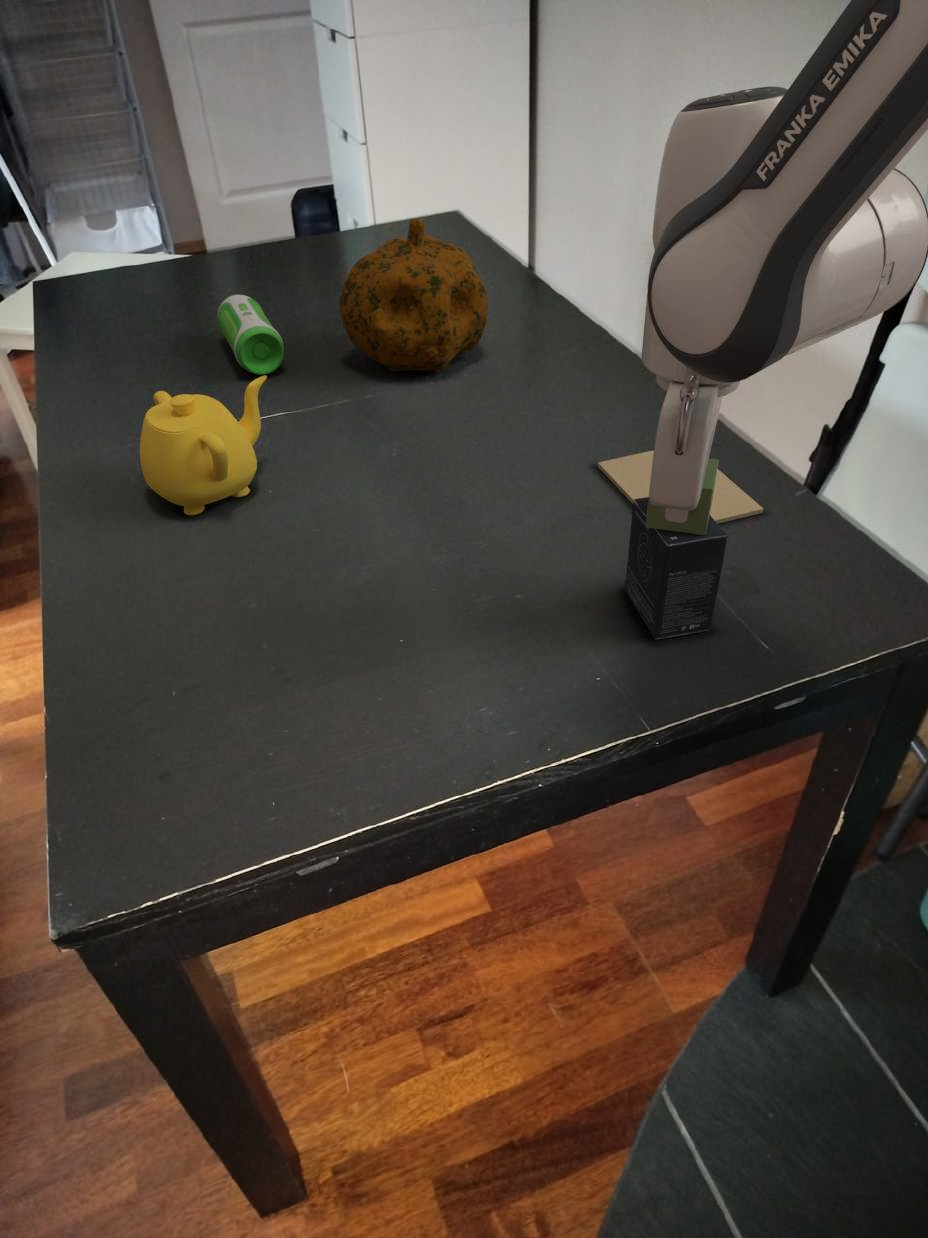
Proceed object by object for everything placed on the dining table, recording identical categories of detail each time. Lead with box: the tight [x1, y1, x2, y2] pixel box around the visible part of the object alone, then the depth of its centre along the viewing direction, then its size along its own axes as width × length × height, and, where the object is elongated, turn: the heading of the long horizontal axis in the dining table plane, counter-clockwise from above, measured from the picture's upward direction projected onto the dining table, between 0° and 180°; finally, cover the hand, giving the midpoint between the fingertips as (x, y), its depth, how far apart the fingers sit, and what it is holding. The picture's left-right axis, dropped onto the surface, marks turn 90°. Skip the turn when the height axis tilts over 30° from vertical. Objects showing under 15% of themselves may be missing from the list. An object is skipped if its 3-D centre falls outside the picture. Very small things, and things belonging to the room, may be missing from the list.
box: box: [624, 497, 729, 640], centre depth 78 cm, size 8×6×11 cm
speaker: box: [216, 294, 285, 376], centre depth 130 cm, size 18×7×8 cm, turn 23°
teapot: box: [139, 375, 268, 516], centre depth 98 cm, size 14×14×12 cm
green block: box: [646, 457, 720, 535], centre depth 73 cm, size 5×5×4 cm
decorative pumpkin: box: [338, 218, 489, 372], centre depth 123 cm, size 20×21×20 cm
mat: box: [597, 449, 764, 525], centre depth 97 cm, size 16×12×1 cm
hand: (681, 497), depth 73 cm, fingers closed on green block, 5 cm apart
